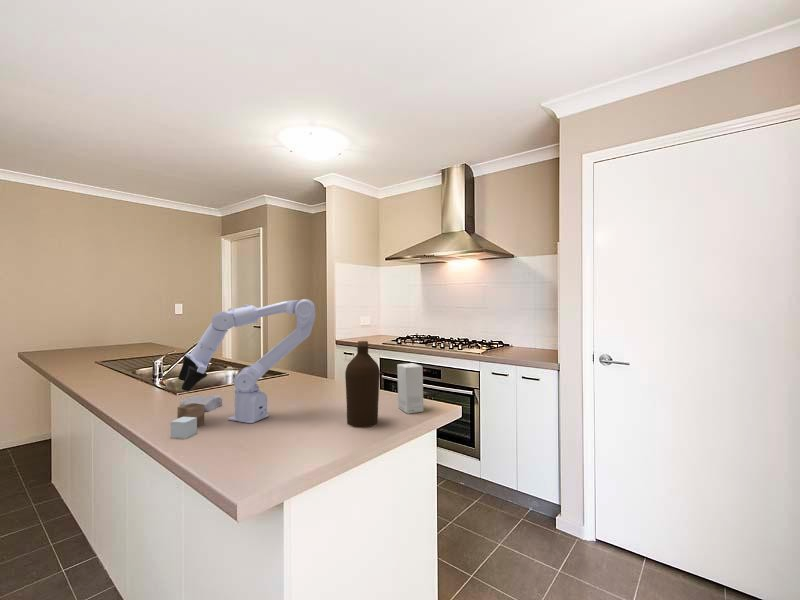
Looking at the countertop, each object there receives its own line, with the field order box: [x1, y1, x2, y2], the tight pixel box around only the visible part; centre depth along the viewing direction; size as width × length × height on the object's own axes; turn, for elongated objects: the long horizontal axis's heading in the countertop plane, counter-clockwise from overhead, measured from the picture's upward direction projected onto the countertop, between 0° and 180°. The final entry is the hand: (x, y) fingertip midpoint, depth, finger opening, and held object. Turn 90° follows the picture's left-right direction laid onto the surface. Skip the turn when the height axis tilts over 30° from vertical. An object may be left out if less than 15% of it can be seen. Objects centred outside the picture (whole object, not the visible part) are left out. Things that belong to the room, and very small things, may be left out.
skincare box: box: [396, 362, 424, 415], centre depth 132 cm, size 8×7×16 cm
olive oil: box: [344, 340, 381, 428], centre depth 119 cm, size 11×11×25 cm
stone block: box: [178, 394, 223, 413], centre depth 133 cm, size 12×5×10 cm
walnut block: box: [177, 403, 205, 428], centre depth 115 cm, size 5×5×6 cm
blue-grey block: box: [170, 417, 198, 440], centre depth 107 cm, size 4×4×4 cm
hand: (183, 384), depth 118 cm, fingers open, 7 cm apart
